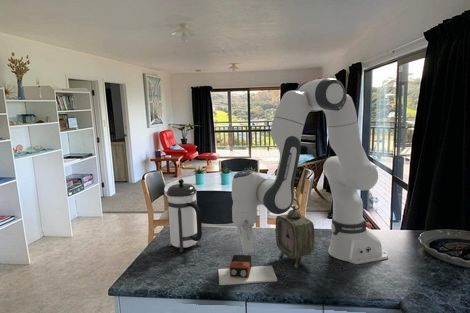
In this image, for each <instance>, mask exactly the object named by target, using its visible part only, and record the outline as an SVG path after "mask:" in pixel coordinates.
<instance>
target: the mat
mask: <svg viewBox="0 0 470 313" xmlns="http://www.w3.org/2000/svg"><path fill="white" fill-rule="evenodd" d="M271 282H278V278H277V276H276V273H275V271H274V268H273V265H259V266H251V270H250V274H249V278H241V277H230V267H228V268H218V285H219V286H227V285H241V284H242V285H243V284H244V285H245V284H256V283H271Z"/></svg>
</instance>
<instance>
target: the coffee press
mask: <svg viewBox="0 0 470 313" xmlns="http://www.w3.org/2000/svg"><path fill="white" fill-rule="evenodd" d="M197 191H198V190H197V188H196V187H195V185H193V184H190V183H184V179H183V178H180V179H179V180H178V181H177V183H175V184H172V185H170V186H169V187H168V188H167V191H165V192H166V193H165V194H166V196H167V201H166V202H167V216H168V231H169V232H168V233H169V234H168V235H169V241H168V243H167V247H171V246H173V247H175V248H178V249H179V253H180V254H183V253H184V249H185V248H189V247H192V246H194V245H196V246H198V247H201V246H202V241H201V239H202V237H203V236H202V235H203V234H202V233H203V228H202V226H203V225H202V224H203V223H202V214H201V210H200V208H199V206H198V202H197V201H198V199H197ZM198 242H199V243H198ZM169 243H170V244H169Z"/></svg>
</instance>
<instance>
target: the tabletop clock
mask: <svg viewBox="0 0 470 313" xmlns="http://www.w3.org/2000/svg"><path fill="white" fill-rule="evenodd" d="M294 201H295V202H296V204H297V205H298V206H297V208H296V205H294V204H293V205H292V206H291V208H290V209H291V210H290V209H289V210H288V211H287V213H286V214H279V215H276V217H275V242H276V246H277V248H278V249H279V250H280V252H279V255H280V256H281V257H284V256H287V257H288V258H290V259H295V263H294V268H296V269H298V268H299V267H300V266H299V260H301V259H302V257H306V256H310V255H312V253H313V252H314V248H315V225H314V222H313V221H311V220H310V219H309V218H308V217H305V216H304V215H302V214H301V212H300V211H299V210H300V208H301V207H300V206H301V205H300V203H299V201H298V199H297V198H295V197H294Z"/></svg>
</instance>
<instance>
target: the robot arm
mask: <svg viewBox="0 0 470 313" xmlns="http://www.w3.org/2000/svg"><path fill="white" fill-rule="evenodd" d="M281 97H282V98H281V99H280V101H279V103H278V105H277V107H276V110H275V111H274V112H275V114H274V115H273V118H272V122H271V126H270V137H271V140H272V141H273V142H274V144H275V146H276V147H277V150H278V152H279V162H278V166H277V169H276V170H277V171H276V175H275V179H273V178H271V177H267V176H264V175H260V174H259V173H257V172H255V171H254V170H252V169H249V170H248V169H245V170H240V171H238V172H236V173H235V174H234V175H233V176H232V182H231V199H232V207H231V210H232V213H231V214H232V215H231V216H232V223H233V224H235V226H236V228H237V231H238V236H239V239H240V244H241V247H242V248H241V249H242V253H243V254H242V255H249V253H254V252H255V239H254V230H253V227H255V224H256V223H257V222H258V206H259V205H262V206H264V207H265V208H266V209H267V210H268V211H269V212H270V213H271V214H274V215H283V214H284V213H286V212H289V211H290V209H292V208H291V206H293V205H294V201H295V200H294V198H295V191H294V190H295V186H294V185H295V182H296V180H295V179H296V176H297V175H296V174H297V171H298V165H299V162H300V161H299V160H300V158H301V157H300V155H301V147H302V145H301V143H302V142H301V139H302V135H303V130H304V127H305V123H306V121H307V117H308V114H309V113H310V112H311V111H312V112H313V111H316V112H319V111H323V113H324V114H325V121H326V129H327V134H328V141H329V146H330V148H331V149H332V150H333V152H334V153H335V156H329V157H328V158H327V159H326V160H325V161H324V163H323V166H322V168H323V169H322V170H323V173H324V175H325V177H326V178H327V181H328V185H329V187H330V192H331V196H332V218H331V224H330V225H331V226H330V227H331V238H330V239H331V240H330V244H329V246H328V250H327V253H328V254H329V256H331V257H333V258H335V259H337V260H341V261H344V262H349V263H351V264H354V265H359V264H360V265H361V264H366V263H372V262H377V261H382V260H386V259H389V254H388V252H387V251H386V249H384V248H383V247H382V242H381V240H380V239H379V237H377V236H376V235H375V234H374V233H372V232H371V231H370V230H369V229H371V228H372V223H370V222H367V221H366V220H364V219H363V215H364V214H363V210H364V207H363V206H364V203H363V199H362V198H361V196H360V194H359V192H358V191H368V190H369V191H370V190H371V189H373V188H374V187H375V186H376V184H377V182H378V179H379V172H378V169H377V168H376V166H374V165H373V163H371V161H370V160H369V158H368V155H367V154H366V151H365V149H364V147H363V145H362V141H361V137H360V135H361V134H360V128H359V122H358V116H357V110H356V107H355V103H354V101H353V98H352V96H350V95H349V94H347V92H346V89H345V87H344V84H343V83H342V82H341V81H340V80H338V79H336V78H331V77H327V78H316V79H314V80H311V81H306V82H304V83H301V84H300V85H299V86H297V88H296V89H295V90H288V91H286V92H285V93H284V94H283V95H282V96H281Z"/></svg>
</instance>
